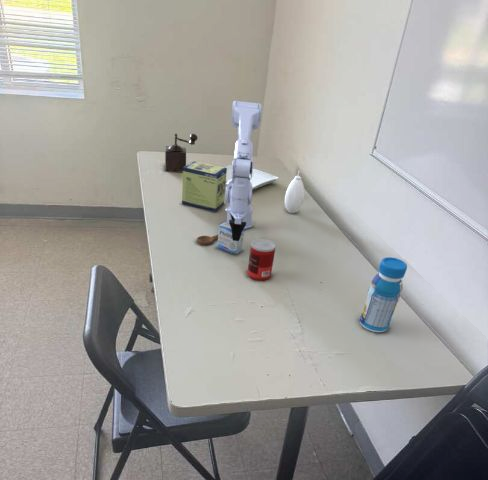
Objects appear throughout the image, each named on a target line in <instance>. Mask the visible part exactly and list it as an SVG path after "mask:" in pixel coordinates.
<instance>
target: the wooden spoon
mask: <svg viewBox="0 0 488 480" xmlns="http://www.w3.org/2000/svg"><path fill="white" fill-rule="evenodd" d="M215 241H218V234H215V235H212V236H210V235H200V236H198V237H197V238H196V244H198V245H199V246H210V245H213V242H215Z"/></svg>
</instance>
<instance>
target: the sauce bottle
mask: <svg viewBox="0 0 488 480" xmlns="http://www.w3.org/2000/svg"><path fill="white" fill-rule="evenodd" d="M304 201H305V186H304V182H303V180H302V177H301V176H300V171H298V172H297V175H295V176H294V178H293V179H292V180H291V182H290V183H289V185H288V186H287V188H286V192H285V194H284V206H285V209H286V210H287V211H288V212H289V213H290V214H294V213H297V212H298V211H299V210H300V209H301V208H302V206H303V204H304Z"/></svg>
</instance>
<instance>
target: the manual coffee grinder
mask: <svg viewBox="0 0 488 480" xmlns="http://www.w3.org/2000/svg"><path fill="white" fill-rule="evenodd" d="M198 138H199V137H198V135H197V134H195V133H191V134H189V139H190V140H187V139H183V138H179V137H178V134H177V133H175V134H174V144H172V145H166V146H165V147H164V171H165V172H174V173H175V172H176V173H177V172H178V173H183V167H184V166H186V165H187V148H186V147H183V146H180V145H178V141H180V142H184V143H187V144H189V145H190V146H193V145H195V144H196V141H197V140H198Z"/></svg>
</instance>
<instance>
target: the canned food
mask: <svg viewBox="0 0 488 480" xmlns="http://www.w3.org/2000/svg"><path fill="white" fill-rule="evenodd" d="M276 245H277V244H276V243H275V242H274V241H273V240H270V239H267V238H256V239H253V240H252V241H251V243H250V248H249V254H248V255H249V256H248V264H247V275H248V277H249V278H250V279H252V280H254V281H261V282H264V281H268V280H269V279H270V278H271V276H272V271H273V265H274V259H275V254H276V247H277V246H276Z"/></svg>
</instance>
